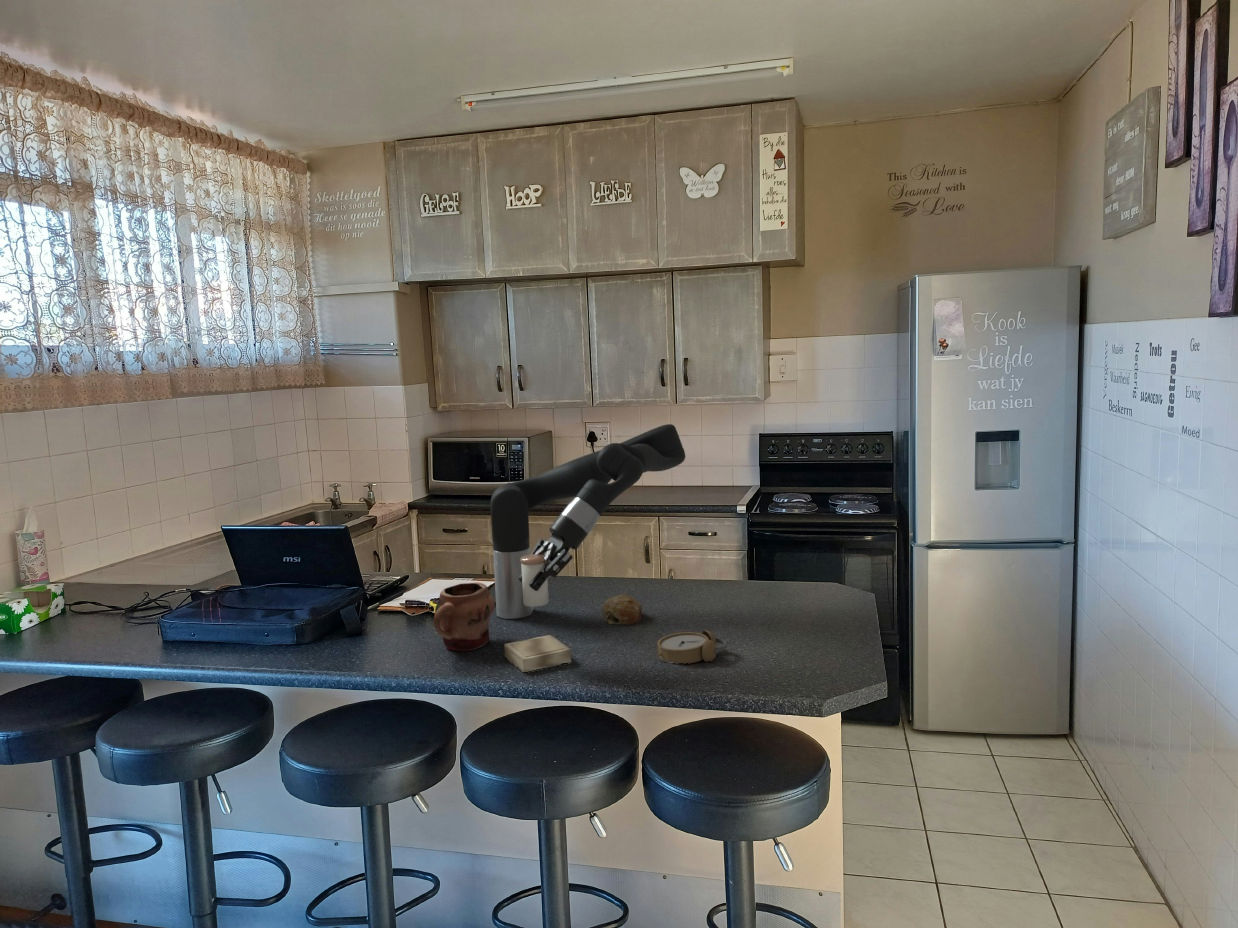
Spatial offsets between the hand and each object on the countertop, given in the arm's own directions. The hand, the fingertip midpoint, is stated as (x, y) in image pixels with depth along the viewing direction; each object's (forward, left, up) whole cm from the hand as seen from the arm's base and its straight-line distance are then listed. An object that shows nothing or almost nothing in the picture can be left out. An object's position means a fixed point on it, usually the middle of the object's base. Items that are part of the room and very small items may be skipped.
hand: (527, 584), depth 179 cm
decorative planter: (-2, -19, -17) cm, 26 cm away
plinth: (-1, +1, -17) cm, 17 cm away
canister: (-1, +1, -4) cm, 5 cm away
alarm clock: (-15, +31, -18) cm, 39 cm away
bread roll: (-33, +7, -17) cm, 38 cm away
